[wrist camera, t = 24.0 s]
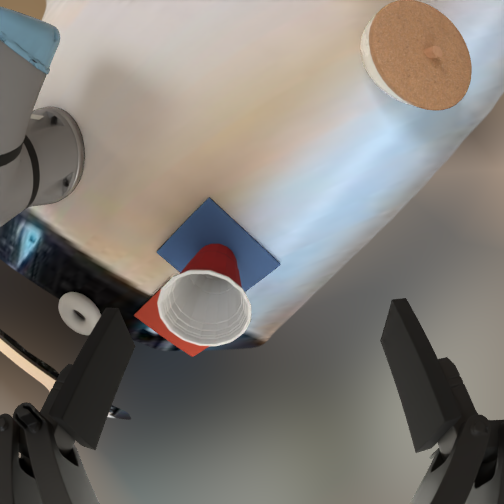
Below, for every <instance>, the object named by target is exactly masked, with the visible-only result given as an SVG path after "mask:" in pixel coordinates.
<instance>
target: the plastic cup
mask: <svg viewBox="0 0 504 504" xmlns="http://www.w3.org/2000/svg"><path fill="white" fill-rule="evenodd" d="M157 304H158V309H159V314H160V318H161V319H162V321H163V322H164V324H165V325H166V326H167V328H168V329H169V331H171V332H172V333H174V334H175V335H176V336H178V337H179V338H181V339H182V340H184V341H187V342H190V343H193V344H196V345H199V346H219V345H222V344H226V343H229V342H232V341H234V340H235V339H236V338H238V337H239V336H240V335H242V334H243V333H244V332H245V330H246V328H247V327H248V325H249V323H250V321H251V304H250V302H249V300H248V298H247V296H246V294H245V292H244V290H243V288H242V286H241V280H240V274H239V269H238V266H237V260H236V258H235V256H234V254H233V252H232V251H231V250H230V249H229V248H228V247H227V246H224V245H222V244H209V245H206V246H204V247H203V248H202V249H201V250H200V251H199V252H198V253H197V254H196V255H195V256H194V257H193V258H192V259H191V260H190V262H189V263H188V264H187V265H186V267H185V268H184V269H183V270H182V272H181V273H180V274H178V275H175V276H173V277H172V278H171V279H170V280H169V281H168V282H167V283H166V284H165V285H164V286H163V287H162V288H161V291H160V295H159V298H158V302H157Z"/></svg>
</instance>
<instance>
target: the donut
mask: <svg viewBox="0 0 504 504" xmlns="http://www.w3.org/2000/svg"><path fill="white" fill-rule="evenodd" d="M58 308H59V313H60V315H61V317H62V319H63V320H64V322H65V323H66V324H67V325H68V326H69V327H70V328H71V329H73V330H74V331H76V332H78V333H80V334H84V335H90V334H91V332H92V330H93V328H94V327H95V325H96V323H97V322H98V320H99V318H100V317H101V314H100V311H99V309H98V308H97V306H96V305H95V304H94V303H93V302H92V301H91V300H90V299H89V298H88V297H86V296H85V295H83V294H80V293H77V292H69V293H66V294H64V295H63V296H62V297H61V298H60V300H59V305H58ZM75 310H76V311H78V312H80V313H81V314H82V315H83V316H84V318H82V317H81V316H79V315H78V314H77V313H76V311H75Z"/></svg>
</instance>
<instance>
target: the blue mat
mask: <svg viewBox="0 0 504 504" xmlns="http://www.w3.org/2000/svg"><path fill="white" fill-rule="evenodd" d="M209 244H222V245H224V246H227V247H228V248H229V249H230V250H231V251H232V252H233V254H234V256H235V258H236V260H237V266H238V269H239V274H240V280H241V286H242V288H243V290H244V292H246V291H247V290H248V289H250V288H251V287H252V286H253V285H255V284H256V283H257V282H259V281H260V280H261V279H263V278H264V277H265V276H267V275H268V274H269V273H271V272H272V271H273V270H274V269H276V268H277V267H278V266H280V263H279V262H278V261H277V260H276V259H275V258H274V257H273V256H272V255H271V254H269V253H268V252H267V251H266V250H265V249H264V248H263V247H262V246H261V245H260V244H259V243H258V242H257V241H256V240H255V239H253V238H252V237H251V236H250V235H249V234H248V233H247V232H246V231H245V230H244V229H243V228H242V227H241V226H240V225H239V224H237V223H236V222H235V221H234V220H233V219H232V218H231V217H230V216H229V215H228V214H227V213H226V212H225V211H224V210H222V209H221V208H220V207H219V206H218V205H217V204H216V203H215V202H214V201H213V200H212V199H211V198H210V197H209V198H208V199H207V200H206V201H205V202H204V203H203V204H202V205H201V206H200V207H199V208H198V209H197V210H196V211H195V212H194V213H193V214H192V215H191V216H190V217H189V218H188V219H187V220H186V221H185V222H184V223H183V224H182V225H181V226H180V227H179V228H178V229H177V231H176V232H175V233H174V234H173V235H172V236H171V237H170V238H169V239H168V240H167V241H166V242H165V243H164V244H163V245H162V246H161V248H160V249H159V250H158V251H157V253H158V254H159V255H160V256H161V257H162V258H164V259H165V260H166V261H167V262H168V263H170V264H171V265H172V266H173V267H174V268H176V269H177V270H178V271H179V272H180V273H181V272H182V270H183V269H184V268H185V267H186V265H187V264H188V263H189V262H190V260H191V259H192V258H193V257H194V256H195V255H196V254H197V253H198V252H199V251H200V250H201V249H202V248H203V247H204V246H206V245H209Z"/></svg>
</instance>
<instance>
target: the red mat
mask: <svg viewBox="0 0 504 504" xmlns="http://www.w3.org/2000/svg"><path fill="white" fill-rule="evenodd" d="M160 291H161V289H160V290H159V291H158V292H157V293H156V294H155V295H154V296H153V297H152V298H151V299H150V300H149V301H147V302H146V303H145V304H144V305H143V306H142V307H141V308H140V309H139V310H138V311H137V312H136V313H135V314H134V316H135V317H137V318H138V319H139V320H141V321H142V322H143V323H145V324H146V325H147V326H149V327H150V328H151V329H153V330H154V331H155V332H157V333H158V334H160V335H161V336H162V337H164V338H165V339H167V340H168V341H170V342H171V343H172V344H174V345H175V346H177V347H178V348H180V349H181V350H183V351H184V352H186V353H187V354H189V355H190V356H192V357H193V356H195V355H196V354H198V353H199V352H201V351H203V350H204V349H206V348H207V347H209V346H199V345H196V344H193V343H190V342H187V341H184V340H182V339H181V338H179V337H178V336H176V335H175V334H174V333H172V332H171V331H169V329H168V328H167V326H166V325H165V324H164V322H163V321H162V319H161V318H160V314H159V309H158V304H157V302H158V298H159V295H160Z"/></svg>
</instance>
